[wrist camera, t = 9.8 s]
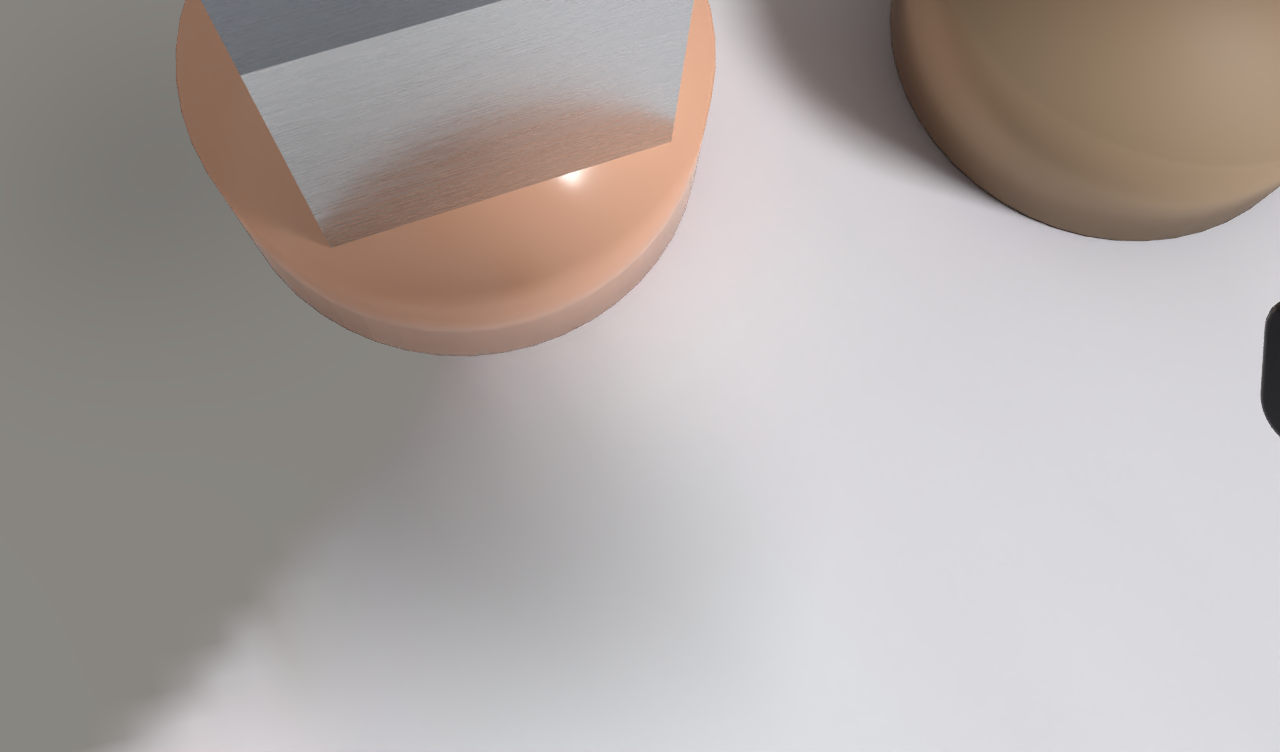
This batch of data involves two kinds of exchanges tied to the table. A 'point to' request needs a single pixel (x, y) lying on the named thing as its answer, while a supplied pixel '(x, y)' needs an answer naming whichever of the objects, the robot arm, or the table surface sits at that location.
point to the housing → (451, 95)
